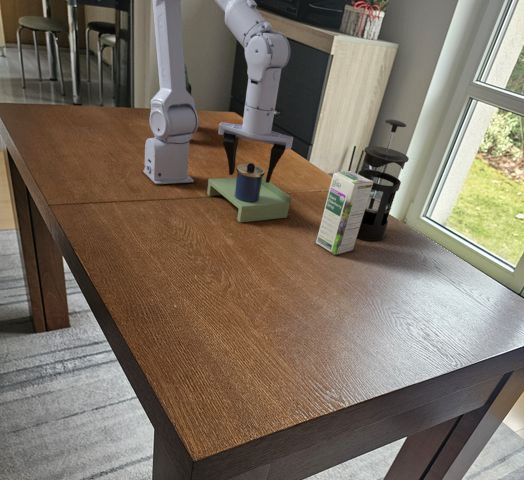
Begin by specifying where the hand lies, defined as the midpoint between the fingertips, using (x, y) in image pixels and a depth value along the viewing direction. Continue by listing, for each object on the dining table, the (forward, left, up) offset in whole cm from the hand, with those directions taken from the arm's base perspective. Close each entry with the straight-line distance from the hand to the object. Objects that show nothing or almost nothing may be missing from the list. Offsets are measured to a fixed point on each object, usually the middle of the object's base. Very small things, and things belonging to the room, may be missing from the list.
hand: (249, 177), depth 104 cm
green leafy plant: (+10, +55, -8) cm, 57 cm away
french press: (+23, -14, -8) cm, 27 cm away
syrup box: (+11, -19, -8) cm, 23 cm away
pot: (0, 0, -4) cm, 4 cm away
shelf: (+3, +3, -8) cm, 9 cm away
